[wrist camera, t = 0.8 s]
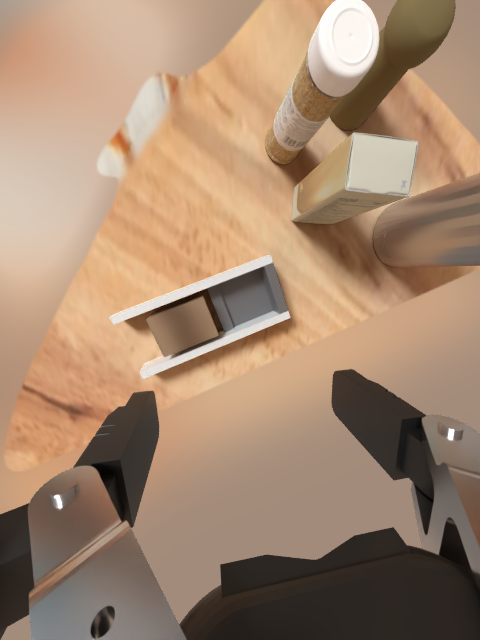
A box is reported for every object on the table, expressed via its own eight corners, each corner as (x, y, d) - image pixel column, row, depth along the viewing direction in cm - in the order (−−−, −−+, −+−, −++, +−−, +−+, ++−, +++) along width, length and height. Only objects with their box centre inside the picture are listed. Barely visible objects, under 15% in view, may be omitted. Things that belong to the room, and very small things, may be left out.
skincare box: (336, 191, 30) (423, 139, 19) (332, 225, 31) (413, 197, 19) (291, 186, 29) (353, 127, 17) (288, 221, 30) (346, 189, 18)
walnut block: (202, 294, 30) (203, 297, 26) (216, 327, 31) (218, 335, 28) (152, 313, 30) (145, 319, 26) (168, 346, 31) (164, 357, 27)
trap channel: (263, 256, 30) (270, 254, 27) (282, 313, 33) (290, 317, 30) (118, 312, 29) (109, 316, 26) (148, 369, 31) (143, 379, 28)
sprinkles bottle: (304, 136, 28) (394, 21, 15) (289, 172, 29) (363, 91, 16) (272, 115, 27) (339, -28, 14) (257, 153, 28) (309, 50, 15)
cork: (371, 127, 29) (468, 46, 19) (329, 133, 29) (405, 52, 18) (369, 71, 28) (472, -51, 17) (324, 75, 27) (404, -50, 17)
